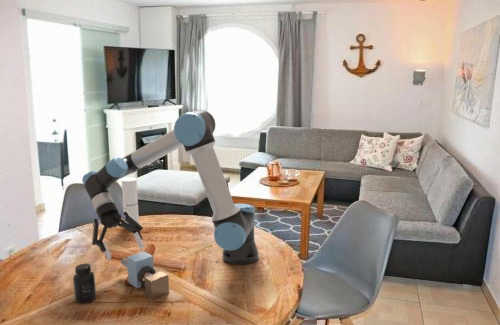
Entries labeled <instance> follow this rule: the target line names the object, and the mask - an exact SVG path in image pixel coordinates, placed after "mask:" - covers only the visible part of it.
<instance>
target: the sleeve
mask: <svg viewBox="0 0 500 325" xmlns="http://www.w3.org/2000/svg"><path fill="white" fill-rule="evenodd" d="M126 259H127V264H128V268H127V278H128V279H127V281H128V283H129V284H130V285H131V286H133V287H134V288H136V289H139V288H142V283H141V282H139V281H138V273H139V271H140V270H141V268H142V267H145V266H150V267H151V268H153V269H154V256H153V255H152V254H150V253H148V252H146V251H141V252H139V253H134V254H132V255H129V256H127V257H126ZM154 270H155V269H154ZM148 272H150V270H148Z"/></svg>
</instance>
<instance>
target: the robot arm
mask: <svg viewBox="0 0 500 325" xmlns="http://www.w3.org/2000/svg"><path fill="white" fill-rule="evenodd" d="M215 130H216V121H215V118H214V116H213V115H212V114H211V113H210V112H209V111H207V110H205V109H199V110H192V111H187V112H185V113H183V114H181V115H180V116H179V117H178V118H177V119H176V121H175V123H174V125H173V130H171V131H169V132H166V133H165V134H163V135H161V136H160V137H158V138H156V139H155V140H152V141H150V142H149V143H148V144H146V145H143V146H142V147H140V148H138V149H137V150H135V151H133V152H131V153H130V154H127V155H125V156H124V157H122V158H120V157H117V156H115V157H113V158H112V159H111V160H108V161H107V163H106V164H104V166H102V168H101V169H99V170H91V171H88V172H87V173H85V174H84V175H83V176H82V183H83V187H84V189H85V191H86V192H87V195H88V197H89V198H90V202H91V204H92V207H93V208H94V210H95V212H96V215H97V216H98V218H99V219H98V218H93V219H94V220H93V222H92V227H93V232H92V241H91V245H92V246H95V245H96V246H97V247H98V248H99V250H100V251H101V253H104V255H105V258H106V260H107V261H110V260H111V258H112V254H111V251H110V249H109V246H108V245H107V242H106V241H104V238H105V235H106V233H107V231H108V229H112V228H118V227H120V228H123V229H124V230H126V231H128V232H130V233H132V234H133V238H134V240H135V242H136V244H137V246H138V248H139V250H140V251H141V250H143V248H144V247H145V245H144V241H143V236H142V235H141V231H142V230H143V226H142V225H141V224H140V223H139V224H138V223H137V222H136V221H135V220H133V219H132V218H131V217H130V216H129V215H128V213H127V212H124V211H123V213H121V214H120V213H119V211H118V208H117V205H116V204H115V203H114V199H113V198H112V196H111V194H110V192H109V188H111V187H112V186H113V185H114V184H115V183H116V182H118V181H119V180H120V179H121V180H122V179H124V178H125V177H127V176H129V175H132V174H134V173H136V172H137V171H139V170H141V169H142V168H143V167H147V166H148V165H150V164H151V163H153V162H155V161H157V160H159V159H161V158H163V157H164V156H167V155H168V154H170V153H173V152H174V151H176V150H178V149H180V148H182V147H183V148H184V150H185V152H186V153H187V154H189V155H191V157H192V160H193V162H194V165H195V168H196V170H197V173H198V176H199V178H200V179H199V180H201V184H202V186H203V188H204V192H205V194H206V197H207V200H208V203H209V204H210V207H211V209H212V210H211V211H212V212H213V214H212V217H211V221H212V225H213V227H214V232H213V239H214V241H215V243H216V245H218V247H220V248H221V249H223V251H222V260H223V261H224V262H226V263H229V264H231V265H237V266H238V265H249V264H252V263H254V262H255V263H256V261H257V260H258V259H259V251H258V247H257V244H256V240H255V213H256V212H255V207H254V206H253V205H251V204H248V203H234V200H233V198H232V194H231V191H230V189H229V186H228V184H227V181H226V178H225V175H224V172H223V171H222V167H221V165H220V162H219V160H218V157H217V154H216V151H215V148H214V147H215V146H214V145H215V143H216V139H215V137H214V132H215ZM124 220H125V221H126V222H127V223H126V222H125V221H124ZM128 223H129V224H128ZM100 224H101V225H103V229H102V231H101V233H100V236H99V226H100ZM98 236H99V239H98Z"/></svg>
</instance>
